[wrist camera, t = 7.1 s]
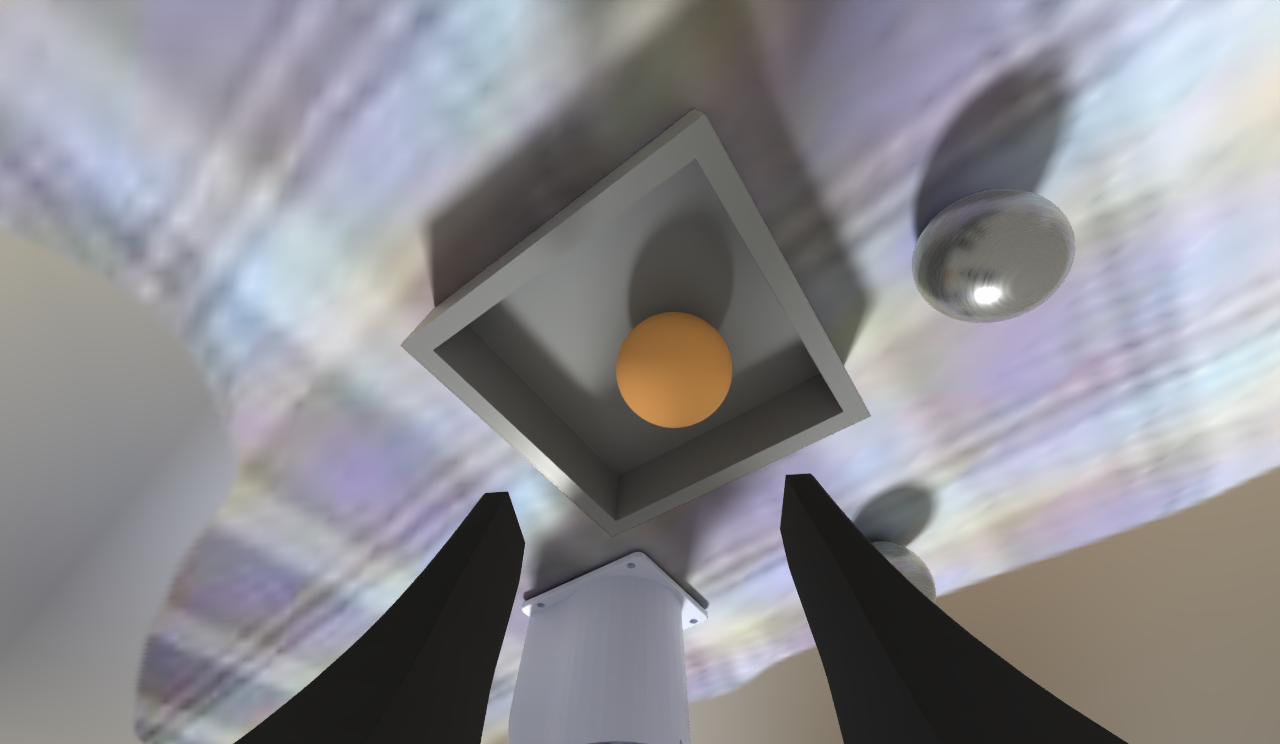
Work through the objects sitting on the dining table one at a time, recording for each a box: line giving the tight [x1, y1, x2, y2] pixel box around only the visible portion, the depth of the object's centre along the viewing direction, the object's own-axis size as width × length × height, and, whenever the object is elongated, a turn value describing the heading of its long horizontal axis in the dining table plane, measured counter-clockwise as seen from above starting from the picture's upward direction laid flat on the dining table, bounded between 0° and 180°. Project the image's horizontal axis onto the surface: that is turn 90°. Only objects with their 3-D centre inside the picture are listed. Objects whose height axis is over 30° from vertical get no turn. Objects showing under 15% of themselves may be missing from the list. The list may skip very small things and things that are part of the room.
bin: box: [400, 108, 871, 537], centre depth 19 cm, size 13×13×3 cm
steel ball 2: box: [912, 189, 1075, 323], centre depth 16 cm, size 4×4×4 cm
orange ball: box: [616, 312, 732, 428], centre depth 18 cm, size 4×4×4 cm
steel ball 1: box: [871, 541, 936, 604], centre depth 26 cm, size 4×4×4 cm
